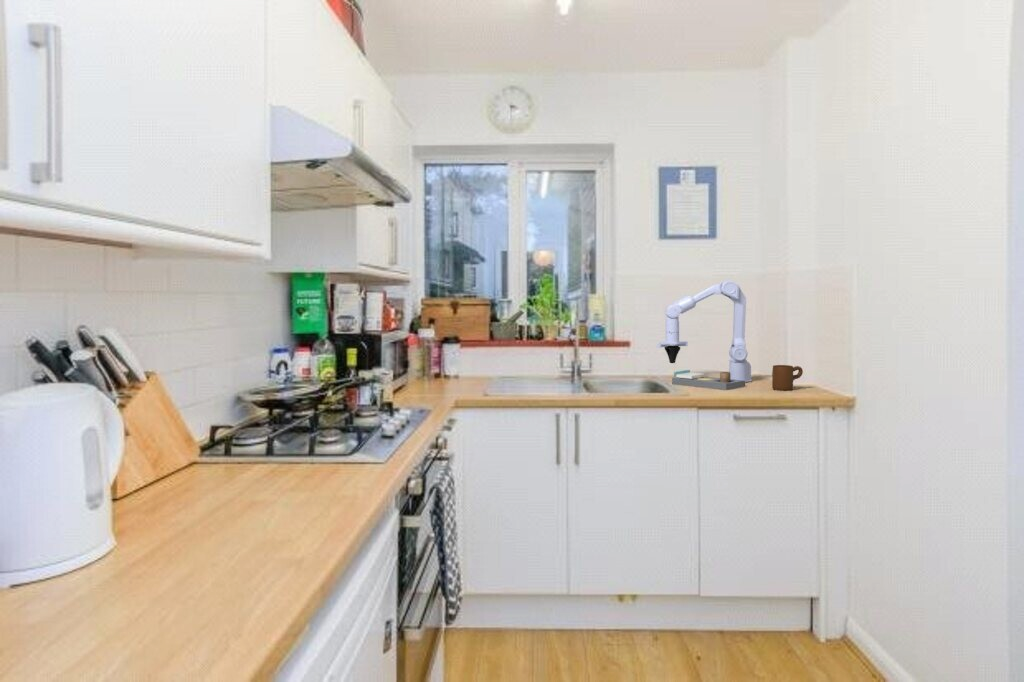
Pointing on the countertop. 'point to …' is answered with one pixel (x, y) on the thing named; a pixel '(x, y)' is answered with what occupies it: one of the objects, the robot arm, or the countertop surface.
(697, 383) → the housing
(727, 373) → the peg
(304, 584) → the countertop surface
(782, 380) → the mug
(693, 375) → the lid
